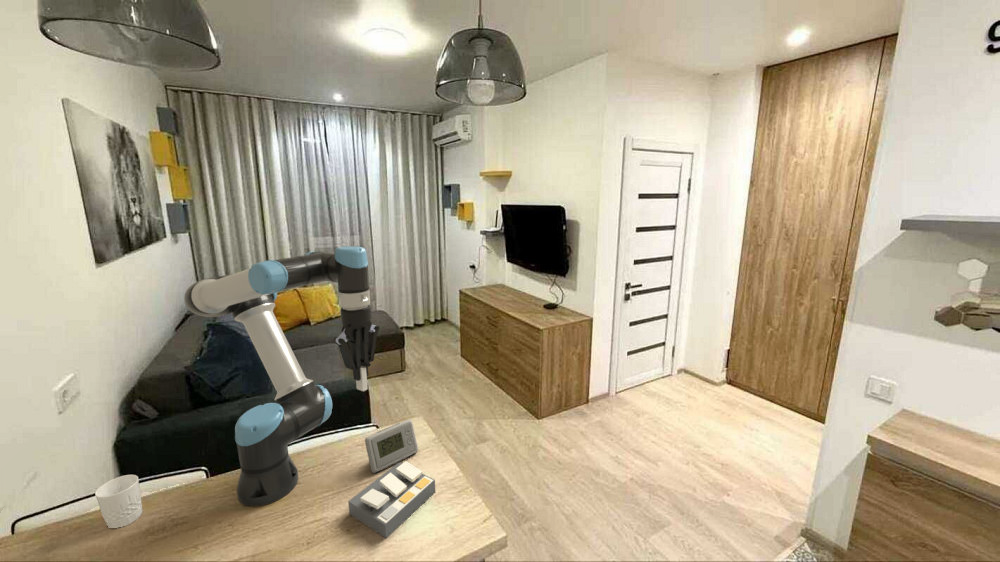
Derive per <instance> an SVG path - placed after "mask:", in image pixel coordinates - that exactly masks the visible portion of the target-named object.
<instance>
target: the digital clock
mask: <svg viewBox="0 0 1000 562" xmlns="http://www.w3.org/2000/svg"><path fill="white" fill-rule="evenodd" d="M364 444H365V449H366V453H367V457H368V462H369V467H370V472H371V473H372V474H375V473H376V474H377V473H378V472H379V471H382V470H386V469H387V468H389V467H391V466H392V467H393V466H395V465H396V464H398V463H399V462H400V463H401V461H404V460H406V459H407V458H409V457H410V456H412V455H414V454H416V453H417V452H418V451H419V447H418V446H419V445H418V442H417V437H416V432H415V429H414V424H413V421H412V419H411V418H409V419H406V420H403V421H402V422H398V423H395V424H392V425H391V426H389V427H386V428H383V429H382V430H379V431H377V432H375V433H373V434H371V435H369V436H366V437H365V438H364Z"/></svg>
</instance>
